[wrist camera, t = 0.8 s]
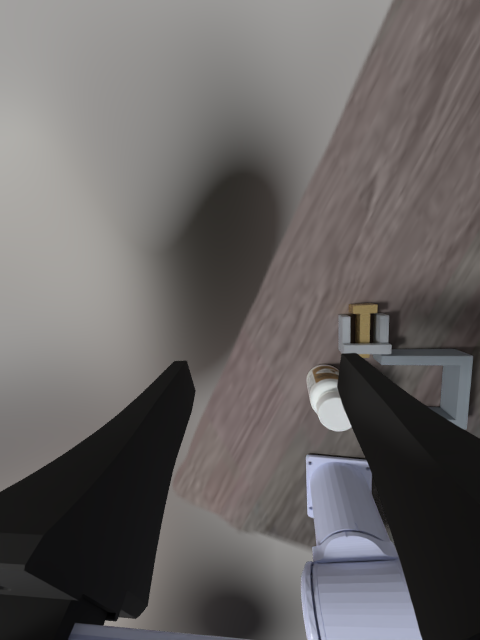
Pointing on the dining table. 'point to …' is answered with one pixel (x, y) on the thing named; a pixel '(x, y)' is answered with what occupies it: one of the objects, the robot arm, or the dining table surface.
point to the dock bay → (453, 362)
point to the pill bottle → (327, 397)
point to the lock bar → (362, 322)
